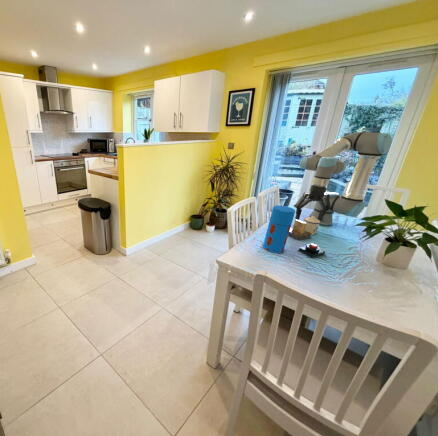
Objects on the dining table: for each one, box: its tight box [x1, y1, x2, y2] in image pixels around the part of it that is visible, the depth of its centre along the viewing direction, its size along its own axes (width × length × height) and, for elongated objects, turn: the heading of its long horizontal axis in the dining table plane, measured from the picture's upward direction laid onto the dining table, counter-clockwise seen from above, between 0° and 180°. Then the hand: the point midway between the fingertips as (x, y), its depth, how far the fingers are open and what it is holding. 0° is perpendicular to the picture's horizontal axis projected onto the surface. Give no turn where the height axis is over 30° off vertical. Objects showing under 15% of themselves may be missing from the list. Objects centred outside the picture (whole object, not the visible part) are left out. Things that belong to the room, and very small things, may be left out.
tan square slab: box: [292, 219, 307, 234], centre depth 148 cm, size 7×2×7 cm, turn 20°
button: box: [309, 242, 319, 249], centre depth 128 cm, size 4×4×2 cm
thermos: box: [262, 204, 296, 254], centre depth 128 cm, size 11×11×25 cm
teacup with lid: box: [303, 216, 320, 236], centre depth 154 cm, size 12×9×12 cm
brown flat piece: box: [288, 227, 312, 241], centre depth 150 cm, size 12×11×3 cm
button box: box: [298, 243, 326, 259], centre depth 129 cm, size 10×8×4 cm
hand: (308, 219), depth 137 cm, fingers open, 13 cm apart
